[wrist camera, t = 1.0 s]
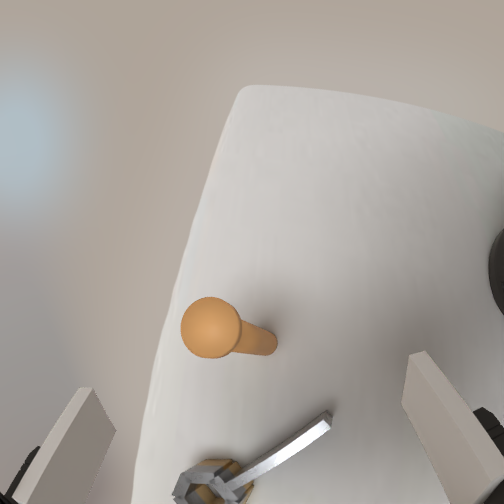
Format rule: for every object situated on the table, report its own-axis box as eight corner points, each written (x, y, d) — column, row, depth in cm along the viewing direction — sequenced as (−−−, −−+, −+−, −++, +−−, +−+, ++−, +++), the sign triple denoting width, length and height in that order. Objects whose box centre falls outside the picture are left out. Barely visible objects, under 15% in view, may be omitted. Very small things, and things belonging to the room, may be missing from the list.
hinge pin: (288, 332, 36) (246, 308, 21) (275, 366, 35) (223, 368, 20) (255, 320, 38) (194, 289, 23) (242, 353, 37) (172, 343, 22)
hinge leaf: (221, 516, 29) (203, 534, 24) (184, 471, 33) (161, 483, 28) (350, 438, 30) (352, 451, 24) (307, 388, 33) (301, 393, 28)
